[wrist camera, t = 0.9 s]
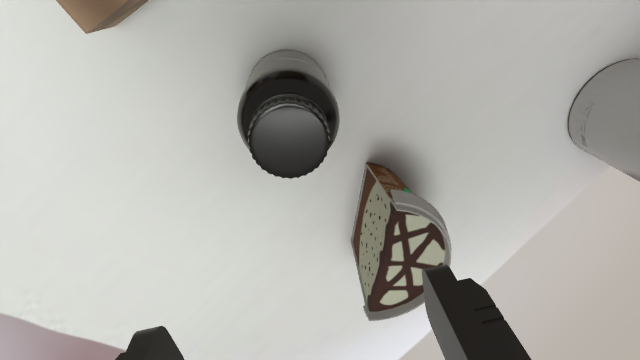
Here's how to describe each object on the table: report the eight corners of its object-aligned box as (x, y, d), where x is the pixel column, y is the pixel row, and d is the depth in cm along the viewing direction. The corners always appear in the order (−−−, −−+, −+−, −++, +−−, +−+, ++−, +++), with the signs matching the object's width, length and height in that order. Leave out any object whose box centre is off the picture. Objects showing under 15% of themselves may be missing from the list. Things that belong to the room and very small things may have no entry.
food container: (402, 253, 42) (435, 325, 33) (348, 251, 41) (367, 325, 32) (430, 152, 36) (478, 207, 27) (368, 148, 35) (398, 203, 27)
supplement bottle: (310, 35, 30) (328, 64, 20) (337, 111, 33) (364, 171, 23) (232, 66, 31) (208, 110, 20) (266, 138, 34) (260, 209, 23)
